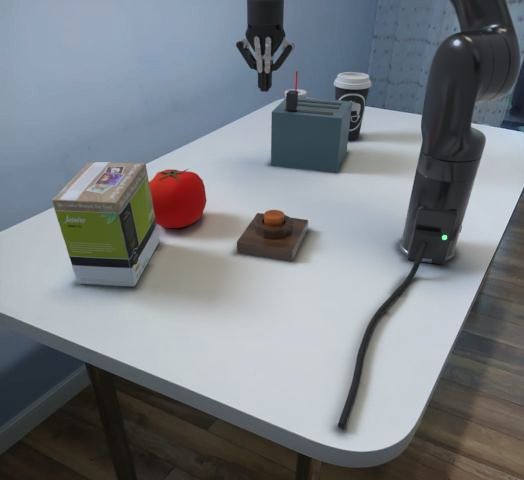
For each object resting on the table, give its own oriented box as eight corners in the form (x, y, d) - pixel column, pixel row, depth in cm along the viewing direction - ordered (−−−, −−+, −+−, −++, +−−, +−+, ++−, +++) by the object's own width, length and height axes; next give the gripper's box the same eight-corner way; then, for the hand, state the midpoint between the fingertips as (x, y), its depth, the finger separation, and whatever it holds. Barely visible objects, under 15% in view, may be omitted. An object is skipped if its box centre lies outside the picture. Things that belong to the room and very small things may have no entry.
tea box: (107, 239, 91) (89, 158, 81) (160, 243, 90) (148, 161, 80) (75, 285, 79) (49, 197, 70) (135, 289, 79) (118, 200, 69)
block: (291, 261, 85) (292, 240, 82) (237, 253, 87) (236, 232, 85) (307, 230, 94) (308, 210, 91) (257, 223, 96) (257, 203, 93)
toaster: (336, 172, 115) (342, 117, 107) (270, 165, 119) (271, 111, 111) (346, 152, 126) (352, 101, 118) (285, 146, 129) (287, 95, 121)
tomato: (221, 221, 96) (218, 168, 90) (167, 243, 90) (159, 188, 83) (187, 203, 103) (182, 152, 96) (134, 222, 96) (124, 169, 89)
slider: (294, 111, 111) (295, 93, 108) (285, 110, 111) (286, 93, 109) (297, 107, 113) (298, 90, 110) (288, 106, 113) (289, 90, 111)
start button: (281, 229, 86) (281, 219, 85) (261, 226, 87) (261, 217, 86) (286, 220, 89) (286, 211, 88) (267, 217, 90) (267, 208, 89)
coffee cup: (371, 137, 134) (380, 75, 125) (349, 145, 130) (356, 82, 120) (344, 129, 140) (350, 69, 130) (321, 136, 135) (326, 75, 125)
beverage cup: (305, 129, 139) (309, 74, 130) (284, 129, 139) (285, 74, 130) (304, 122, 144) (307, 68, 135) (283, 122, 144) (284, 68, 135)
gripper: (228, -3, 98) (231, 92, 110) (292, -1, 95) (289, 97, 107) (240, -7, 104) (242, 84, 115) (301, -5, 101) (297, 89, 112)
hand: (264, 90), depth 111 cm, fingers closed
